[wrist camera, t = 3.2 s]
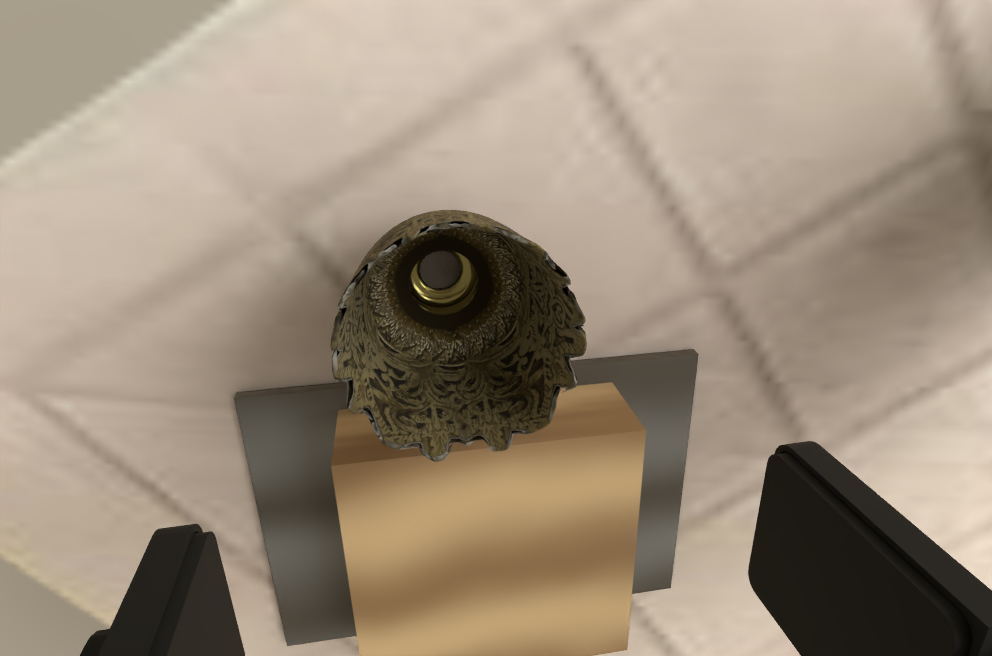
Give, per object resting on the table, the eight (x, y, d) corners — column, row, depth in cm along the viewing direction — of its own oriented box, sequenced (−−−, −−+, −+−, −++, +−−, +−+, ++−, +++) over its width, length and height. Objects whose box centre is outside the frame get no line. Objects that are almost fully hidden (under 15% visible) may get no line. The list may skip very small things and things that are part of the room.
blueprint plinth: (236, 392, 26) (209, 455, 22) (693, 349, 29) (745, 397, 25) (288, 637, 31) (274, 723, 27) (666, 580, 34) (705, 651, 30)
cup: (530, 171, 24) (594, 218, 17) (531, 344, 27) (585, 447, 20) (334, 181, 23) (311, 237, 16) (356, 360, 26) (346, 475, 19)
